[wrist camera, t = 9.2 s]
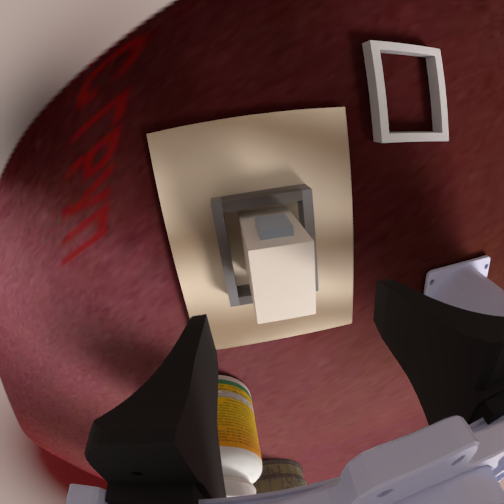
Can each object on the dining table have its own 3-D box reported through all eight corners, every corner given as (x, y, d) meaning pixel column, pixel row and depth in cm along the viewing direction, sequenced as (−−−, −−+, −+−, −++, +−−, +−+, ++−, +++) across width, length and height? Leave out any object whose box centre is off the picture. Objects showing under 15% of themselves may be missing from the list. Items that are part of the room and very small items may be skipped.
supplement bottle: (232, 422, 28) (242, 523, 18) (171, 405, 27) (164, 513, 16) (264, 383, 27) (287, 496, 16) (196, 362, 25) (195, 486, 14)
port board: (349, 318, 25) (358, 334, 23) (200, 347, 24) (199, 365, 22) (341, 106, 18) (354, 106, 16) (148, 133, 18) (140, 135, 16)
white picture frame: (439, 139, 20) (448, 141, 18) (373, 141, 19) (381, 143, 18) (430, 50, 17) (440, 49, 16) (361, 43, 17) (369, 40, 15)
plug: (290, 263, 21) (315, 313, 16) (246, 270, 21) (257, 324, 16) (285, 198, 20) (313, 230, 14) (237, 204, 19) (246, 240, 14)
